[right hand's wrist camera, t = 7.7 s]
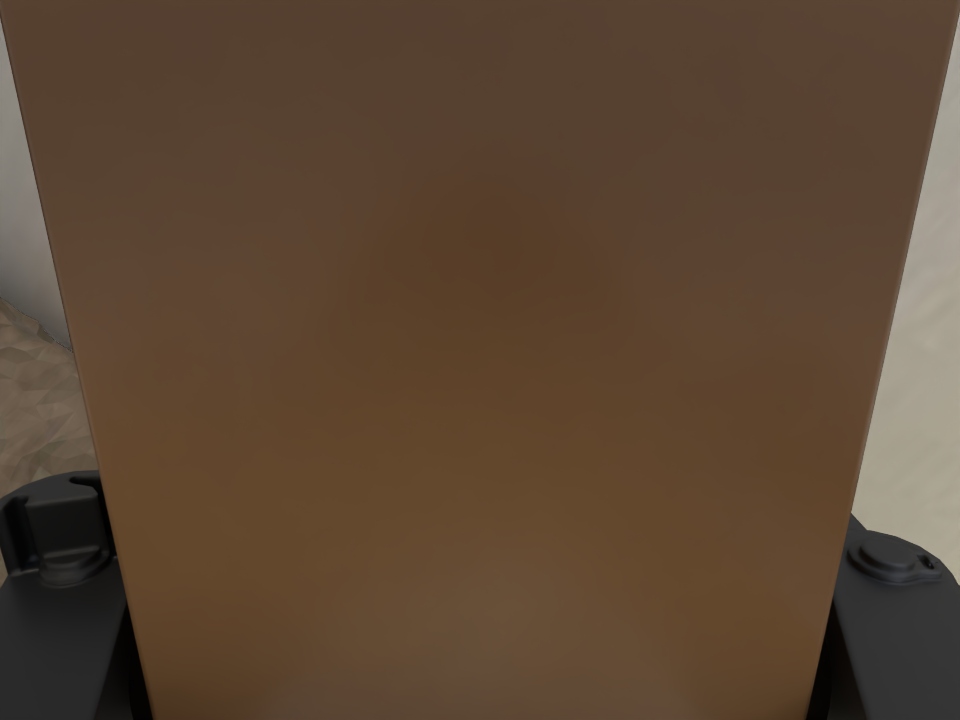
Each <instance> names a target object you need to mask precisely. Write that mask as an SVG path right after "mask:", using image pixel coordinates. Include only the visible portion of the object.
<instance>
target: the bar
mask: <svg viewBox="0 0 960 720" xmlns="http://www.w3.org/2000/svg"><path fill="white" fill-rule="evenodd" d="M959 13H960V0H0V19H1V23H2V28H3V33H4V37H5V42H6V46H7V51H8V56H9V60H10V65H11V69H12V74H13V78H14V83H15V88H16V92H17V97H18V101H19V106H20V111H21V115H22V120H23V124H24V129H25V134H26V138H27V143H28V147H29V152H30V157H31V161H32V166H33V170H34V175H35V180H36V184H37V189H38V193H39V198H40V203H41V207H42V212H43V216H44V221H45V226H46V230H47V235H48V239H49V244H50V249H51V253H52V258H53V262H54V267H55V271H56V276H57V281H58V285H59V290H60V294H61V299H62V304H63V308H64V313H65V317H66V322H67V327H68V331H69V336H70V340H71V345H72V350H73V354H74V359H75V363H76V368H77V373H78V377H79V382H80V386H81V391H82V396H83V400H84V405H85V409H86V414H87V419H88V423H89V428H90V432H91V437H92V441H93V446H94V451H95V455H96V460H97V464H98V469H99V474H100V478H101V483H102V487H103V492H104V497H105V501H106V506H107V510H108V515H109V520H110V524H111V529H112V533H113V538H114V543H115V547H116V552H117V556H118V561H119V566H120V570H121V575H122V579H123V584H124V589H125V593H126V598H127V602H128V607H129V611H130V616H131V621H132V625H133V630H134V634H135V639H136V644H137V648H138V653H139V657H140V662H141V667H142V671H143V676H144V680H145V685H146V690H147V694H148V699H149V703H150V708H151V713H152V717H153V720H806V717H807V713H808V708H809V704H810V699H811V694H812V690H813V685H814V681H815V676H816V671H817V667H818V662H819V658H820V653H821V648H822V644H823V639H824V634H825V630H826V625H827V621H828V616H829V611H830V607H831V602H832V598H833V593H834V588H835V584H836V579H837V575H838V570H839V565H840V561H841V556H842V552H843V547H844V542H845V538H846V533H847V529H848V524H849V519H850V515H851V510H852V506H853V501H854V496H855V492H856V487H857V483H858V478H859V473H860V469H861V464H862V460H863V455H864V450H865V446H866V441H867V436H868V432H869V427H870V423H871V418H872V413H873V409H874V404H875V400H876V395H877V390H878V386H879V381H880V377H881V372H882V367H883V363H884V358H885V354H886V349H887V344H888V340H889V335H890V331H891V326H892V321H893V317H894V312H895V308H896V303H897V298H898V294H899V289H900V285H901V280H902V275H903V271H904V266H905V262H906V257H907V252H908V248H909V243H910V239H911V234H912V229H913V225H914V220H915V215H916V211H917V206H918V202H919V197H920V192H921V188H922V183H923V179H924V174H925V169H926V165H927V160H928V156H929V151H930V146H931V142H932V137H933V133H934V128H935V123H936V119H937V114H938V110H939V105H940V100H941V96H942V91H943V87H944V82H945V77H946V73H947V68H948V64H949V59H950V54H951V50H952V45H953V41H954V36H955V31H956V27H957V22H958V17H959Z"/></svg>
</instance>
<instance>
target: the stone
mask: <svg viewBox="0 0 960 720" xmlns="http://www.w3.org/2000/svg"><path fill="white" fill-rule="evenodd" d="M86 470H99V469H98V464H97V460H96V455H95V451H94V446H93V441H92V437H91V432H90V428H89V423H88V419H87V414H86V409H85V405H84V400H83V396H82V391H81V386H80V382H79V377H78V373H77V368H76V363H75V359H74V354H73V353H72V352H71V351H69V350H68V349H66V348H64V347H63V346H61V345H60V344H58V343H57V342H55V341H54V340H53V339H52V338H51V337H50V336H49V335H48V334H47V333H46V332H45V331H44V330H43V329H42V327H41V325H40V324H39V322H38V321H36V320H34V319H32V318H30V317H28V316H26V315H24V314H22V313H21V312H19V311H18V310H17V309H15V308H14V307H13V306H11V305H10V304H9V303H7V302H6V301H5V300H3V299H2V298H1V297H0V499H1V498H2V497H3V496H5V495H7V494H9V493H11V492H12V491H14V490H16V489H18V488H20V487H22V486H23V485H26V484H29V483H31V482H34V481H37V480H40V479H43V478H45V477H48V476H53V475H57V474H62V473H67V472H72V471H86ZM7 576H8V574H7V570H6V567H5V563H4V560H3V556H2V553H1V549H0V588H1V586H2V585H3V583H4V581H5V579H6V577H7Z"/></svg>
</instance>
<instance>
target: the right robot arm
mask: <svg viewBox="0 0 960 720" xmlns="http://www.w3.org/2000/svg"><path fill="white" fill-rule="evenodd" d="M0 549H1V553H2V556H3V560H4V563H5V567H6V570H7V574H8V576H7V577H6V579H5V581H4V583H3V585H2V586H1V588H0V720H153V717H152V713H151V708H150V703H149V699H148V694H147V690H146V685H145V680H144V676H143V671H142V667H141V662H140V657H139V653H138V648H137V644H136V639H135V634H134V630H133V625H132V621H131V616H130V611H129V607H128V602H127V598H126V593H125V589H124V584H123V579H122V575H121V570H120V566H119V561H118V556H117V552H116V547H115V543H114V538H113V533H112V529H111V524H110V520H109V515H108V510H107V506H106V501H105V497H104V492H103V487H102V483H101V478H100V474H99V470H86V471H72V472H67V473H62V474H57V475H53V476H48V477H45V478H43V479H40V480H37V481H34V482H31V483H29V484H26V485H23V486H22V487H20V488H18V489H16V490H14V491H12V492H11V493H9V494H7V495H5V496H3V497H2V498H1V499H0ZM806 720H960V585H958V583H957V581H956V580H955V578H954V576H953V574H952V573H951V572H950V571H949V570H948V568H947V567H946V566H945V565H944V564H943V563H942V562H941V560H940V559H938V558H937V557H935V556H934V555H932V554H931V553H929V552H928V551H926V550H924V549H923V548H921V547H920V546H918V545H915V544H913V543H910V542H908V541H906V540H903V539H901V538H898V537H896V536H892V535H888V534H884V533H879V532H875V531H870V530H866V529H865V528H864V527H863V525H862V524H861V523H860V522H859V521H858V520H857V519H856V518H855V517H854V516H853V515H852V513H851V515H850V519H849V524H848V529H847V533H846V538H845V542H844V547H843V552H842V556H841V561H840V565H839V570H838V575H837V579H836V584H835V588H834V593H833V598H832V602H831V607H830V611H829V616H828V621H827V625H826V630H825V634H824V639H823V644H822V648H821V653H820V658H819V662H818V667H817V671H816V676H815V681H814V685H813V690H812V694H811V699H810V704H809V708H808V713H807V717H806Z"/></svg>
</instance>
